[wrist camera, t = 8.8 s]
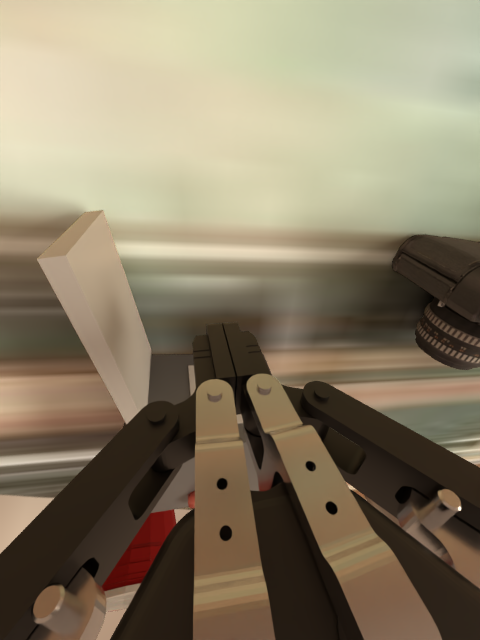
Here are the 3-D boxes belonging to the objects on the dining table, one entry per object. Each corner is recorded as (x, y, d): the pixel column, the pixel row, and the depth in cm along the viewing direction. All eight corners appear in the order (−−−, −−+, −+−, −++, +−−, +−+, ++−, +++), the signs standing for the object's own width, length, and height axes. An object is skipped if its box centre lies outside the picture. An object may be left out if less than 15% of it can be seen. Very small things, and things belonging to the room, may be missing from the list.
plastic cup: (90, 496, 35) (61, 633, 26) (109, 451, 30) (81, 599, 21) (170, 495, 40) (170, 611, 30) (197, 456, 35) (208, 578, 25)
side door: (104, 208, 16) (61, 260, 10) (154, 353, 23) (147, 438, 17) (84, 210, 16) (27, 265, 9) (140, 355, 23) (129, 443, 16)
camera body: (245, 411, 31) (269, 501, 24) (127, 419, 28) (111, 528, 20) (263, 353, 26) (301, 444, 19) (122, 354, 23) (99, 466, 15)
